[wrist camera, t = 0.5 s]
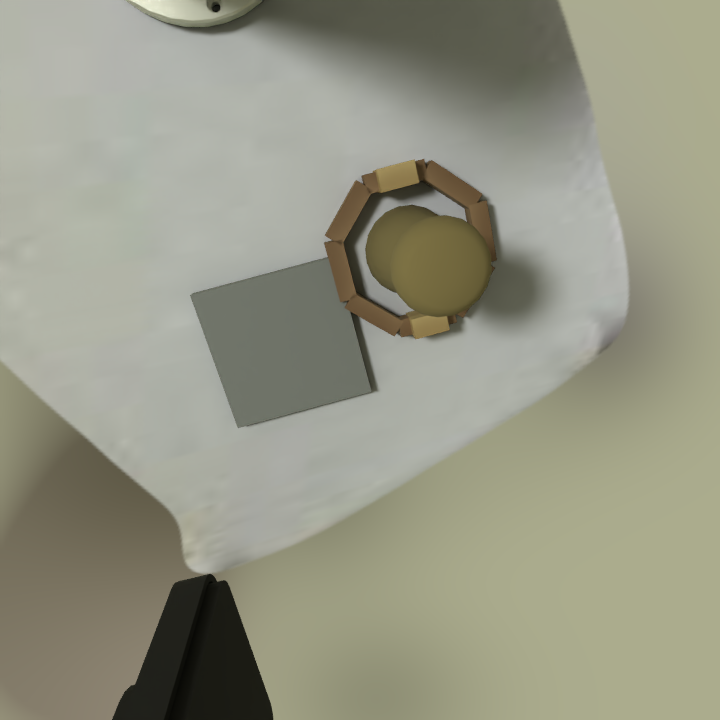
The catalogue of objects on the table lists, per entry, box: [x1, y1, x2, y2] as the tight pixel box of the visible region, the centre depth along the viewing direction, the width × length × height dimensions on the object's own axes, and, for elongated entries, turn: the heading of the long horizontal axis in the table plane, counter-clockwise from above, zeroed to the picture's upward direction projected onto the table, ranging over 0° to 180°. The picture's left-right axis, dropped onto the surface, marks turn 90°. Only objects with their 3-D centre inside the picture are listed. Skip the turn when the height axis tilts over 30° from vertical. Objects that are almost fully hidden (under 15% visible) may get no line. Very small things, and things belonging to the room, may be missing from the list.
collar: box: [324, 159, 497, 339], centre depth 35 cm, size 11×11×2 cm
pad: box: [190, 257, 371, 428], centre depth 37 cm, size 10×10×1 cm
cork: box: [365, 205, 492, 317], centre depth 31 cm, size 6×6×11 cm
